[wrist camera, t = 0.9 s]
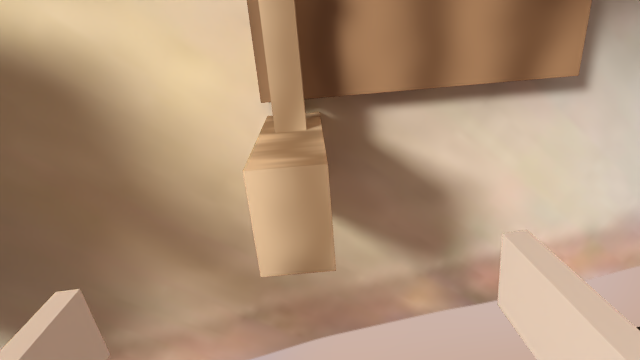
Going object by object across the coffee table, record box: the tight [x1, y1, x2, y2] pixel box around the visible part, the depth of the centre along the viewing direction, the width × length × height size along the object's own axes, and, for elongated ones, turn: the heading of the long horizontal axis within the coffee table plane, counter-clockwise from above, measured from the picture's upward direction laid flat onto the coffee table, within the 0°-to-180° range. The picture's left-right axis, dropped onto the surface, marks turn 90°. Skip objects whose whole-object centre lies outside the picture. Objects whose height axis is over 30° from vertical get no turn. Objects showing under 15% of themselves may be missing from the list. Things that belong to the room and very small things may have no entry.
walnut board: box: [247, 0, 592, 103], centre depth 25 cm, size 22×9×3 cm, turn 95°
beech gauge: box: [243, 0, 336, 277], centre depth 22 cm, size 4×16×12 cm, turn 5°
